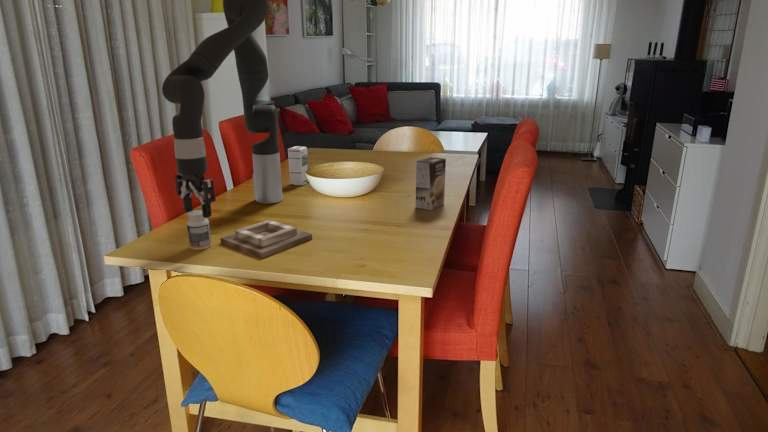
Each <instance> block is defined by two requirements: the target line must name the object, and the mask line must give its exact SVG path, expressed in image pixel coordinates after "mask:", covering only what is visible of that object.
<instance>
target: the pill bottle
mask: <svg viewBox="0 0 768 432" xmlns="http://www.w3.org/2000/svg"><path fill="white" fill-rule="evenodd" d="M187 218H188V219H189V220H188V221H187V222H186V228H187V236H188V242H189V243H188V244H189V248H190V249H192V250H194V251H195V250H196V251H200V250H201V251H202V250H205V249H209V248H210V247H212V237H211V227H210V221H209V219H208V218H204V217H203V214H202V209H196V210H193V211H191V212H187Z"/></svg>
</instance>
